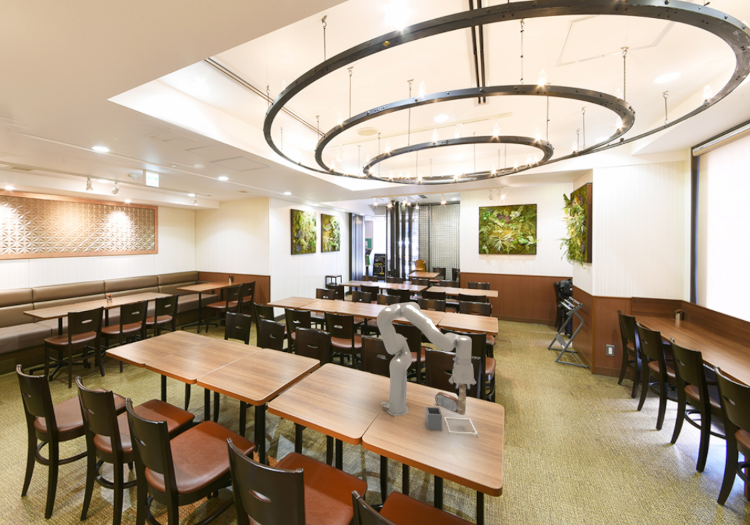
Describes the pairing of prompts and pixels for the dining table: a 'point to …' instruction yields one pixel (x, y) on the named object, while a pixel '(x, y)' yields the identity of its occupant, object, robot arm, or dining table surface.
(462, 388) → the dowel
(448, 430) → the white square frame
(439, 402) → the tin
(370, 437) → the dining table surface
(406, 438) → the dining table surface
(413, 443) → the dining table surface
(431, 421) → the holder
